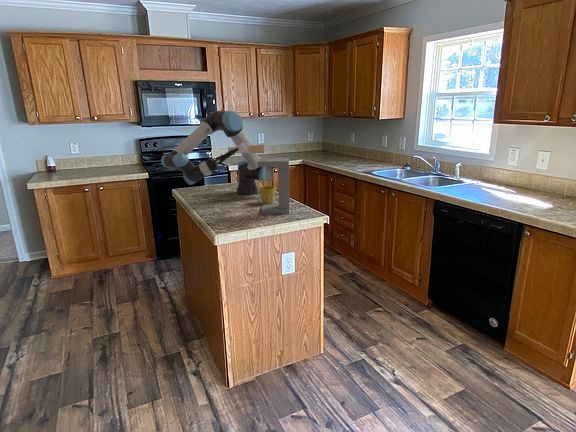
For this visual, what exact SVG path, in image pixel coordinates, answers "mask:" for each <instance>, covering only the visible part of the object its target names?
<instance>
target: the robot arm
mask: <svg viewBox="0 0 576 432" xmlns="http://www.w3.org/2000/svg"><path fill="white" fill-rule="evenodd" d="M243 124H244V123H243V118H242V116H241V114H240V113H238V111H233V110H216V111H213V112H211V113H210V114H209V115H207V116H206V117H205V118H204V119H202V121H201V122H200V123H199V126H197V127H196V128H195V129H194V130H193V131H192V132H191V133H190V134H189V135H188V136H187V137H186V138H184V140H183V141H182V142H181V143H179V144H178V145H177V146H175V148H174V149H173V150H172V151H170V152H169V153H165V154H163V155H162V156H161V159H160V161H161V164H162V165H163V166H164V167H165V168H168V169H176V170H179V171H181V172H182V173H183V176H182V177H183V179H184V181H185V183H187V184H188V185H190V186H191V185H194V184H196V183H198V182H199V181H201V180H202V179H204V178H205V177H207V176H208V177H209V176H210V174H213V172H215V171H217V170H218V169H219V165H221V164H222V163H223V162H225V161H226V160H227V159H229V158H230V157H232V156H236V154H238V153H237V152H238V151H240V150H241V149H243V148H245V147H249V145H252V144H251V141H250V140H249V139H248V137H247V136H246V134H245V132H244V131H243V129H244V125H243ZM217 131H218V132H219V131H222V132H223V133H224V134H225V136H226V137H227V138H230V139H231V140H232V142H233V143H234V145H235V146H234V147H235V148H234V149H232V150H233V151H232V150H231V151H229V152H228V151H227V152H226V153H224V154H221V155H219V156H217V157H215V158H213V157H209V158H207V159H206V160H205V161H203V162H200V163H199V164H198V165H195V164H194V162H192V160H190V158H189V157H188V155H189V154H190V153H192V152H193V151H194V150H195V149H196V148H197V147H198V146H199V145H200V144H201V143H202V142H203V141H204V140H205V139H206V138H207V137H208V136H209V135H213V134H214V133H215V132H217ZM240 154H241V157H243V160H239V161H238V162H237V173H238V183H237V187H236V194H238V195H244V196H246V195H247V196H251V195H256V194H258V193H259V187H258V185H257V182H256V181H260V182H267V181H266V167H258V160H259V159H260V158H261V157H260V156H259V155H258V153H240Z"/></svg>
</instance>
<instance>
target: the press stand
mask: <svg viewBox="0 0 576 432" xmlns="http://www.w3.org/2000/svg"><path fill="white" fill-rule="evenodd" d="M258 167H266V181H265V182H274V167H275V168H277V178H278V179H277V180H278V181H277V183H278V184H277V186H278V188H277V190H278V204H262V207H261V210H260V212H261V213H260V214H261V215H266V214H267V215H269V214H270V215H271V214H273V215H275V214H276V215H277V214H280V215H281V214H283V215H286V214H290V158H289V157H277V158H276V157H270V158H269V157H268V158H265V157H264V158H262V157H260V159H259V160H258Z"/></svg>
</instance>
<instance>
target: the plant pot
mask: <svg viewBox="0 0 576 432" xmlns="http://www.w3.org/2000/svg"><path fill="white" fill-rule="evenodd" d="M258 193H259V194H260V197H261V201H262V204H263V205H271V204H273V203H274V198H275V194H276V186H272V185H263V186H258Z"/></svg>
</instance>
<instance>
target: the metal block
mask: <svg viewBox="0 0 576 432" xmlns="http://www.w3.org/2000/svg"><path fill="white" fill-rule="evenodd" d="M235 147H236V146H231V147H230V146H228V147H227V152H229V151H231V150H232V149H234V148H235ZM232 151H233V150H232ZM241 153H257V154H264V153H265V144H251V145H249V147H245V148H243V149H241V150H240V151H238V152H237V153H236V154H241Z"/></svg>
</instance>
